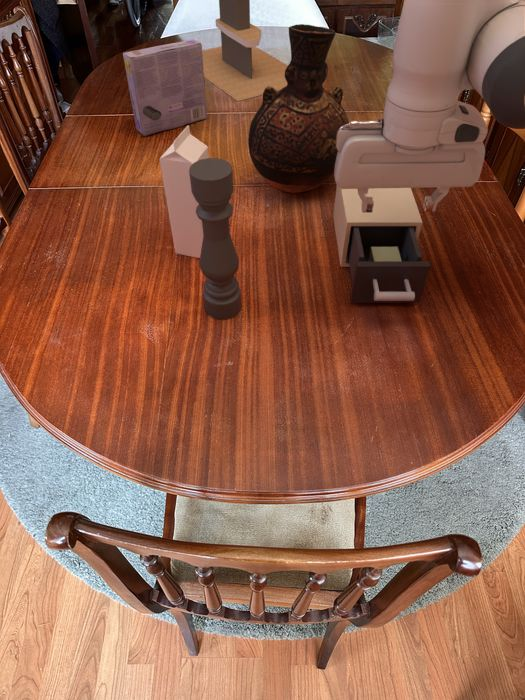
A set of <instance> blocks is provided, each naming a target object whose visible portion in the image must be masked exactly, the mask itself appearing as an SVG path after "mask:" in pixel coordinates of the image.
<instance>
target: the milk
mask: <svg viewBox="0 0 525 700" xmlns="http://www.w3.org/2000/svg"><path fill="white" fill-rule="evenodd" d="M209 155H210V154H209V147H208V146H207V145H206V144H205V143H204V142H202V141H201V140H200V139H198V138H196V136H194V135H193V134H191V129H190V125H187V126H186V127H185V128H184V129H183V130H182V131H181V133H179V135H178V136H177V137H176V138H175V139H174V141H173V143H172V144H171V145H169V147H168V148H167V149H166V150H165V152H164V153H163V154H162V155H161V156H160V158H159V165H160V170H161V177H162V181H163V182H162V183H163V189H164V194H165V201H166V205H167V212H168V218H169V223H170V230H171V236H172V242H173V248H174V253H175V254H177V255H182V256H187V257H192V258H196V259H200V255H201V249H202V242H203V227H202V220H200V219H199V218H198V216H197V214H196V207H197V206H198V205H199V204H198V202H197V201H196V199H195V198H194V196H193V194H192V191H191V183H190V175H189V169H190V166H191V165H192V164H193V163H194V162H197V161H199V160H201V159H207V158H210V156H209Z"/></svg>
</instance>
